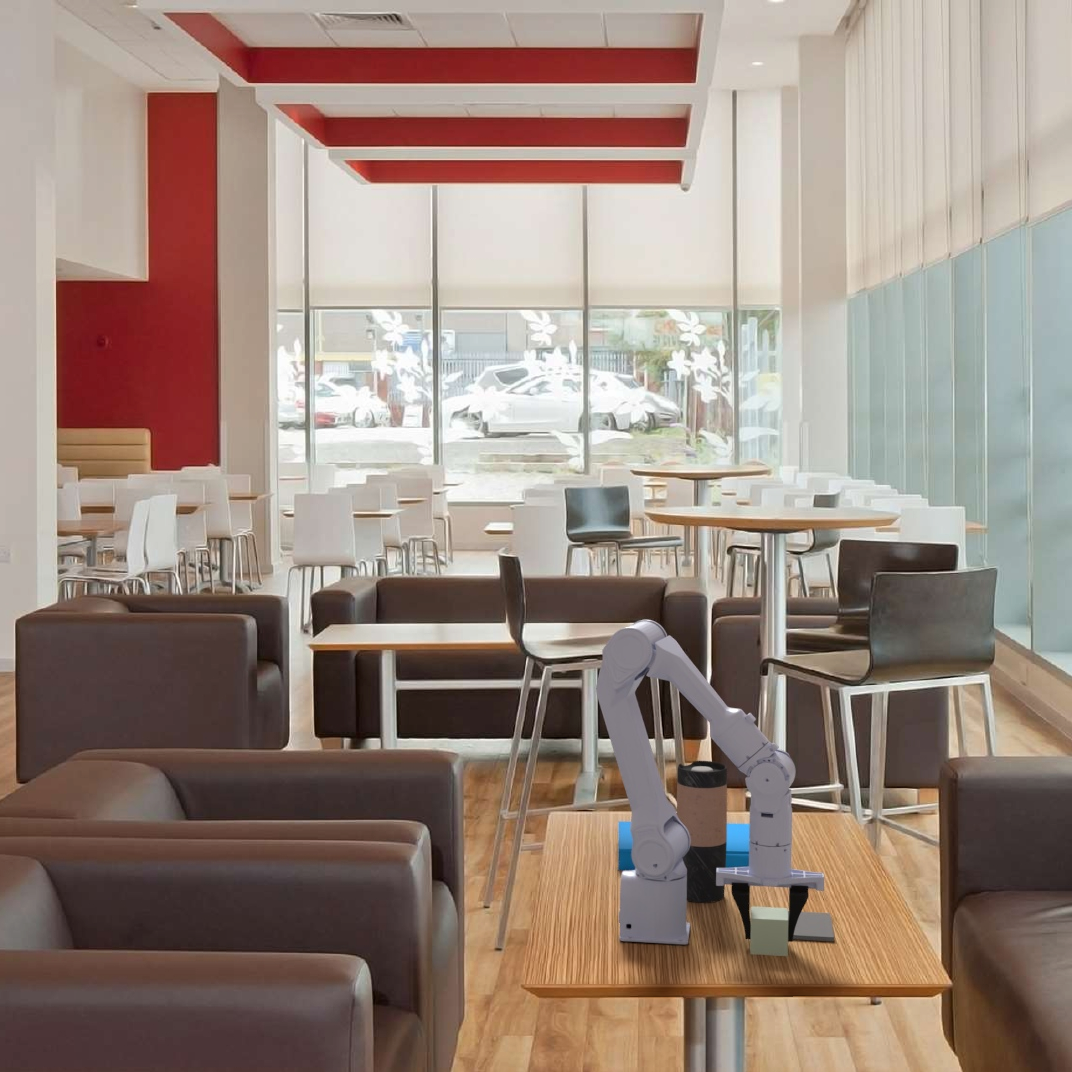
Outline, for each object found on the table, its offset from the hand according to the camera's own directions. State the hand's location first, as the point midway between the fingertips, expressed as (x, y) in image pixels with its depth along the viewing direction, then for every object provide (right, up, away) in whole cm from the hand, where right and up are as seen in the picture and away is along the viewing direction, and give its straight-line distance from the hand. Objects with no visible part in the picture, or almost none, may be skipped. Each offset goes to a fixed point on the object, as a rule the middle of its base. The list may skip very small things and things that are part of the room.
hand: (768, 938), depth 196 cm
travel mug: (-7, 0, +22) cm, 23 cm away
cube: (0, -2, 0) cm, 2 cm away
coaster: (+5, -1, +8) cm, 10 cm away
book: (-6, +1, +42) cm, 42 cm away
